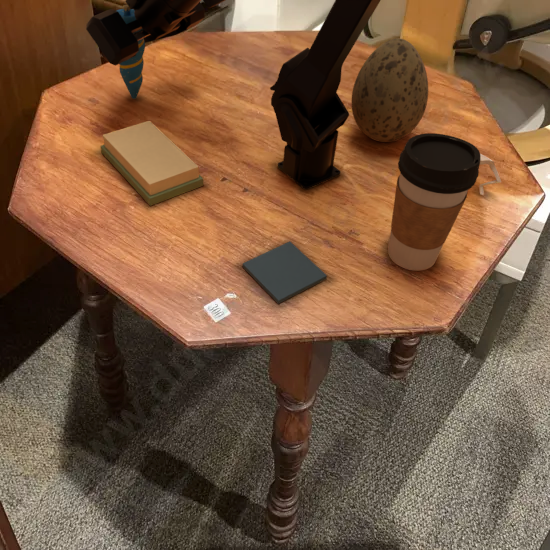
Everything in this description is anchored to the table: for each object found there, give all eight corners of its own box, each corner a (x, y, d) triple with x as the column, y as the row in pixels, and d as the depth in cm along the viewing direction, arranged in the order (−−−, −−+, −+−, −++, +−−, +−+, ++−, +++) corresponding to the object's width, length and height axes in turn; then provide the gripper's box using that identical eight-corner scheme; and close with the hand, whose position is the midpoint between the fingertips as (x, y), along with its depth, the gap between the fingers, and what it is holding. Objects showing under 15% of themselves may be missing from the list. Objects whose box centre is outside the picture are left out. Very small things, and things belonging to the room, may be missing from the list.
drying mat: (289, 244, 73) (289, 241, 73) (326, 279, 70) (327, 275, 69) (242, 266, 70) (242, 263, 70) (278, 304, 67) (278, 300, 66)
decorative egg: (332, 127, 93) (345, 30, 82) (388, 112, 97) (408, 18, 86) (372, 164, 86) (393, 64, 76) (431, 147, 91) (458, 50, 80)
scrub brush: (152, 136, 88) (150, 118, 86) (203, 185, 81) (203, 167, 79) (101, 152, 85) (98, 134, 82) (150, 206, 77) (148, 187, 75)
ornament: (114, 93, 96) (100, -4, 86) (145, 87, 98) (135, -9, 87) (124, 109, 93) (112, 10, 82) (156, 102, 95) (148, 5, 84)
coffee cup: (430, 289, 70) (467, 183, 59) (365, 258, 73) (389, 152, 62) (457, 249, 75) (495, 145, 64) (395, 222, 78) (422, 118, 67)
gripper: (185, -82, 83) (133, -18, 94) (84, -49, 71) (39, 19, 83) (231, -7, 85) (175, 46, 97) (141, 36, 74) (90, 90, 86)
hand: (123, 48), depth 91 cm, fingers open, 7 cm apart
